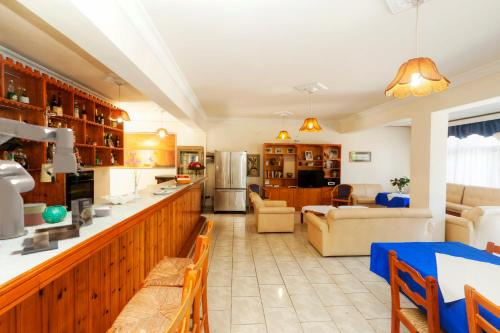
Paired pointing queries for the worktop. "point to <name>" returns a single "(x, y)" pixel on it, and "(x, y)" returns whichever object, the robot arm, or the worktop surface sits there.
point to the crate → (60, 232)
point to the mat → (30, 248)
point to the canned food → (33, 214)
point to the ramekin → (103, 211)
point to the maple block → (40, 240)
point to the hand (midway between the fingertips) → (65, 183)
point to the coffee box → (82, 212)
